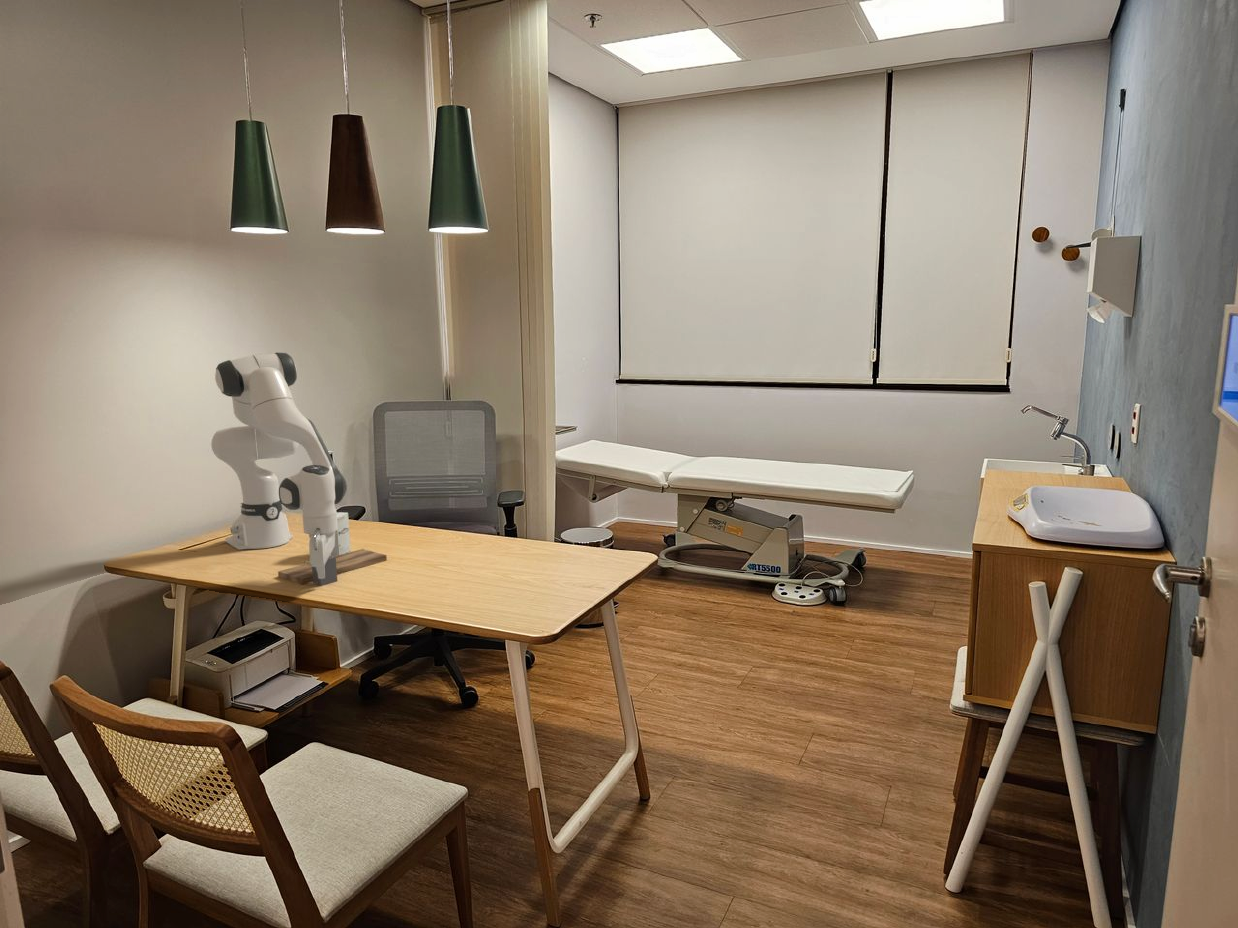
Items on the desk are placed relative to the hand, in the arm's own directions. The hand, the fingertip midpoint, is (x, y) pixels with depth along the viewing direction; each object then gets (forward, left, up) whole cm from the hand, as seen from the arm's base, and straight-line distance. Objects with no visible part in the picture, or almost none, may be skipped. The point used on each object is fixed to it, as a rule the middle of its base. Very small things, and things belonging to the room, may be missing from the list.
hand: (324, 573), depth 224 cm
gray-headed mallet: (-3, 0, -3) cm, 4 cm away
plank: (-9, +9, -3) cm, 13 cm away
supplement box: (-23, +18, -3) cm, 29 cm away
